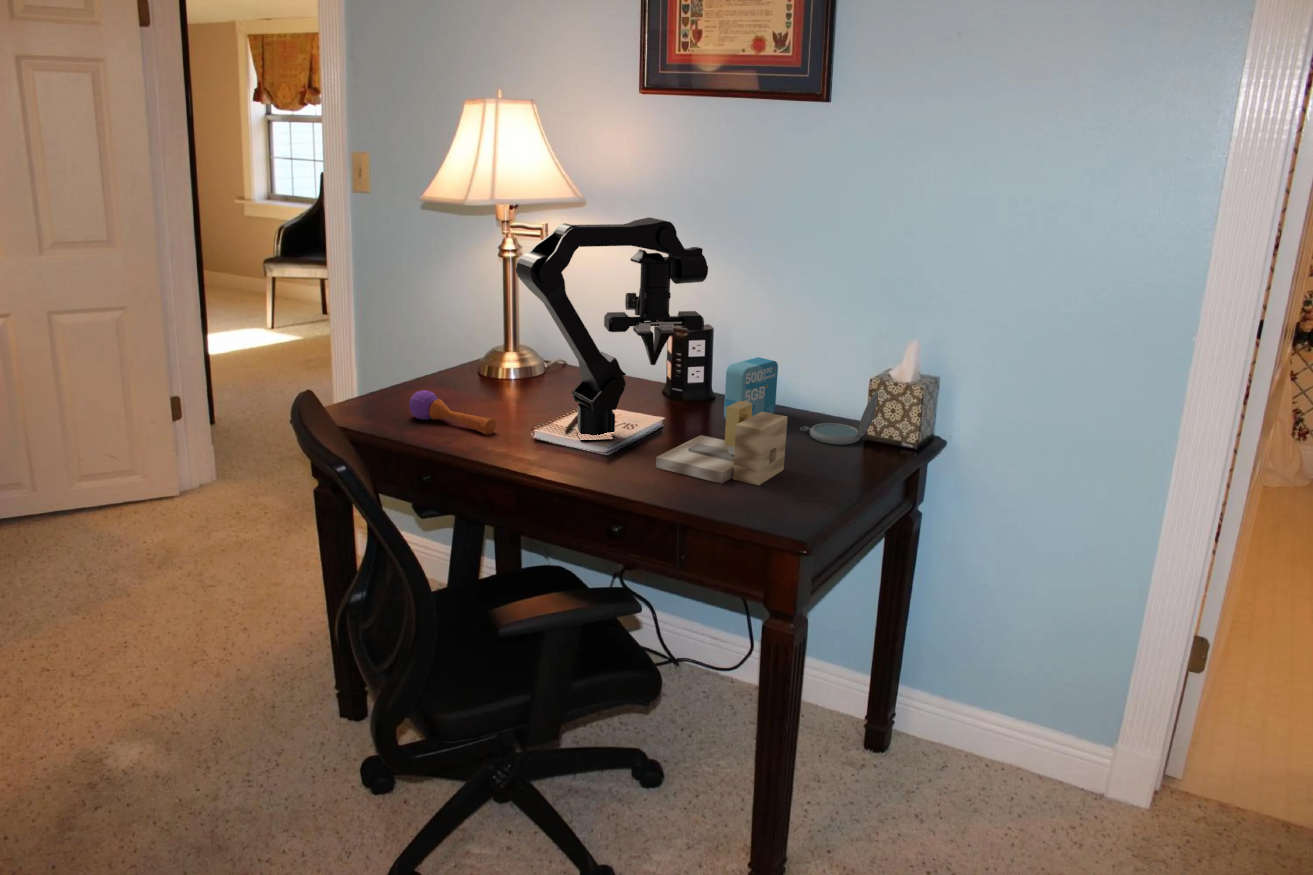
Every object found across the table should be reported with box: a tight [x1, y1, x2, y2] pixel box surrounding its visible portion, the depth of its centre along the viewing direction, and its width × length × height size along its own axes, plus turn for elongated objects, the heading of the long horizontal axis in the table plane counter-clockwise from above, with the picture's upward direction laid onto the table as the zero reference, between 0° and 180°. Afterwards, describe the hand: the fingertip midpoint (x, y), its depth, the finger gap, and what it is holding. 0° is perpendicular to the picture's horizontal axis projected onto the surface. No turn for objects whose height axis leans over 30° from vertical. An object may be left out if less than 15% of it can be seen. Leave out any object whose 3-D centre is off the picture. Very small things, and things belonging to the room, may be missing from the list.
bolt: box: [724, 401, 752, 455], centre depth 188 cm, size 7×5×9 cm
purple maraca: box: [408, 389, 496, 436], centre depth 210 cm, size 6×6×20 cm
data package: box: [723, 356, 779, 420], centre depth 220 cm, size 12×4×12 cm, turn 138°
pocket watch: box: [799, 390, 878, 446], centre depth 209 cm, size 10×11×15 cm
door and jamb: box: [655, 412, 789, 486], centre depth 191 cm, size 19×16×10 cm
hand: (652, 364), depth 209 cm, fingers closed
